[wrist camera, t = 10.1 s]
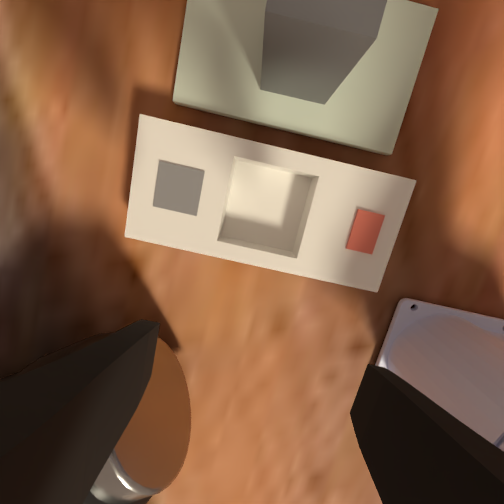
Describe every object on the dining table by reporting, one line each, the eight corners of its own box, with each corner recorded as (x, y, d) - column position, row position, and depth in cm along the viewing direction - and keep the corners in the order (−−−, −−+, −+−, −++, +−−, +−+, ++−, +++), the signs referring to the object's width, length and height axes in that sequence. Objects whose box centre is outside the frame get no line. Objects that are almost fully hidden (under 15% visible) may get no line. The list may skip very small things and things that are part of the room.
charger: (343, 30, 15) (416, -104, 8) (324, 104, 16) (376, 38, 9) (275, 13, 15) (293, -137, 8) (260, 89, 16) (265, 11, 9)
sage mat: (431, 15, 16) (438, 8, 15) (387, 155, 17) (391, 154, 17) (198, -47, 15) (195, -57, 14) (175, 104, 17) (172, 100, 16)
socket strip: (394, 182, 18) (418, 180, 15) (361, 279, 19) (378, 293, 16) (156, 125, 17) (138, 112, 14) (141, 231, 18) (123, 237, 16)
